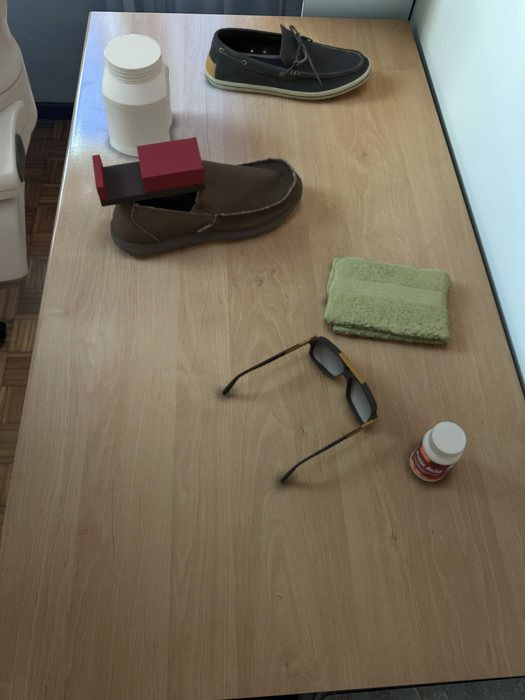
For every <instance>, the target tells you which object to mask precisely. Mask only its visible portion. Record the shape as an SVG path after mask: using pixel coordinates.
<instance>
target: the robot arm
mask: <svg viewBox="0 0 525 700" xmlns="http://www.w3.org/2000/svg"><path fill="white" fill-rule="evenodd" d="M37 121H38V109H37V105H36V102H35V98H34V94H33V91H32V87H31V83H30V79H29V76H28V72H27V69H26V65H25V62H24V58H23V53H22V51H21V48H20V46H19V44H18V42H17V40H16V39H15V37H14V36H13V34H12V32H11V30H10V28H9V25H8V0H0V282H7V281H8V282H9V281H14V280H18V279H19V280H20V279H22V278H24V277H25V276H27V275H28V274H29V266H28V265H29V262H28V257H27V229H26V206H25V205H26V203H25V202H26V201H25V194H26V182H25V170H26V169H25V167H26V160H27V153H28V149H29V146H30V142H31V138H32V137H31V136H32V133H33V131H34V129H35V128H36V125H37Z"/></svg>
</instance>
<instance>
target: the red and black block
mask: <svg viewBox="0 0 525 700" xmlns="http://www.w3.org/2000/svg"><path fill="white" fill-rule="evenodd" d="M137 151H138V157H137V158H138V161H132V162H125V163H119V164H112V165H105V166H104V165H103V161H102V158H101V155H100V154H92V155H91V159H92V165H93V166H92V167H93V175H94V182H95V189H96V193H97V196H98V198H99V202H100V204H101V207H102V208H103V207H110V206H115V205H116V204H122V203H128V202H135V201H141V200H147V199H153V198H159V197H165V196H171V195H177V194H184V193H190V192H196V191H202V190H206V188H205V180H204V171H203V165H202V161H201V160H202V156H201V152H200V148H199V144H198V139H197V137H196V136H194V137H193V136H192V137H188V138H181V139H175V140H170V141H167V142H161V143H154V144H148V145H142V146H137Z"/></svg>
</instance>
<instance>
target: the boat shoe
mask: <svg viewBox="0 0 525 700" xmlns="http://www.w3.org/2000/svg"><path fill="white" fill-rule="evenodd" d="M279 27H280V32H281V33H280V32H274V31H268V30H261V29H253V28H242V27H241V28H240V27H221V28H219V29H217V30H216V31H215V32H214V33H213V36H212V40H211V43H210V47H209V51H208V54H207V56H206V60H205V63H204V71H205V74H206V77H207V80H208V81H209V82H210V84H211V85H212V86H214V87H216V88H218V89H222V90H228V91H236V92H246V93H247V92H248V93H255V94H263V95H270V96H276V97H282V98H288V99H297V100H310V101H317V100H326V99H330V98H334V97H338V96H341V95H343V94H346V93H349V92H351V91H353V90H356V89H357V88H359V87H360V86H362V85H363V84H364V83H366V82H367V80H369V78H370V76H371V73H372V67H373V66H372V62H371V59H370V58H369V57H368V56H367V55H366V54H364V53H362V52H361V51H359V50H357V49H351V48H343V47H337V46H332V45H328V44H325V43H320V42H316V41H313V39H312V38H310V37H308V36H305V35H303V34H301V32H299V31H298V30H297V28H296V27H295V26H294V25H293V24H289V25H288V27H289V28H287V27H286V26H284V25H283V24H282V23H280V24H279Z"/></svg>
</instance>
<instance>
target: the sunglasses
mask: <svg viewBox="0 0 525 700" xmlns="http://www.w3.org/2000/svg"><path fill="white" fill-rule="evenodd" d="M308 344H309V346H310V347H309V349H308V350H309V351H308V355H309V357H310V359H311V361H312V362H313V363H314V364H316V366H317V367H318V368H319V369H320V370H321V371H322V372H323V373H324V374H325V375H326V376H327V377H329V378H330V379H336V378H339V377H341V376H342V377H343V378H344V379H345V381H346V383H345V399H346V402H347V404H348V405H349V407H350V409H351V411H352V413H353V415H354V417H355V418H356V420H357V422H358V423H359V424H360V426H358V427H357V428H354V429H353V430H351V431H349V432H347V433H346V434H345V435H343V436H341V437H340V438H338V439H336V440H334V441H333V442H331V443H329V444H327V445H325V446H324V447H322V448H321V449H319V450H317V451H315V452H314V453H312V454H310V455H309V456H306V457H305V458H303V459H302V460H300V461H299V462H297V463H295V464H294V465H293V467H292V466H291V468H290V469H289V470H288V471H287V472H286V473H285V474H284V475H283V476H282V477H281V478H280V479H279V483H280V484H283V483H285V482H286V481H287V480H288V479H290V478H289V477H291V475H292V474H293V473H294V472H295V471H296V470H297V469H298V468H299V466H301V465H302V464H305V463H306V462H308V461H309V460H311V459H313V458H315V457H316V456H318V455H320V454H323V453H324V452H326V451H328V450H329V449H331V448H333V447H334V446H336V445H338V444H340V443H342V442H343V441H345V440H348V439H349V438H351V437H353V436H355V435H356V434H358V433H359V432H361V431H363V430H364V429H366V428H368V427H370V426H371V425H373V424H375V423H377V422H378V421H379V420H380V419H381V417H380V415H379V414H378V404H377V400H376V399H375V396H374V395H373V392H372V390H371V388H370V387H369V385H368V383H367V381H366V380H365V378H364V377H363V376H362V375H361V373H360V372H359V371H358V369H357V368H356V366H355V365H354V364H353V363H352V362H351V360H350V359H349V358H348V357H347V355H346V354H345V352H343V351H342V350H341V349H340V348H339V347H338V346H337V345H336V344H334V343H333V341H332V340H330V339H329V338H328V337H326V336H322V335H320V336H319V335H318V334H315V335H313V336H310V337H308V338H306V339H305V340H303V341H301V342H299V343H297V344H295V345H292V346H291V347H288V348H287V349H284V350H282V351H281V352H278V353H277V354H275V355H273V356H270V357H269V358H267V359H265V360H263V361H262V362H259V363H257V364H255V365H253V366H252V367H250V368H248V369H245V370H244V371H242V372H240V373H238V374H236V376H234V378H232V380H230V381H229V383H227V385H226V386H225V388H223V390H222V392H221V395H222V396H226V395H227V394H229V393H230V392H231V390H232V389H233V387H234V385H235V384H236V383H237V381H238V380H239V379H240V378H242V377H243V376H245V375H247V374H248V373H252V372H253V371H256V370H257V369H259V368H262V367H264V366H266V365H268V364H270V363H273V362H275V361H276V360H278V359H281V358H282V357H284V356H286V355H288V354H290V353H292V352H294V351H296V350H299V349H300V348H302V347H304V346H306V345H308Z"/></svg>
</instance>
